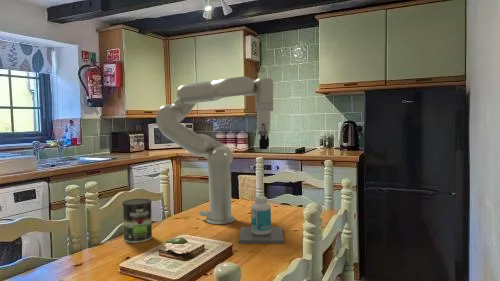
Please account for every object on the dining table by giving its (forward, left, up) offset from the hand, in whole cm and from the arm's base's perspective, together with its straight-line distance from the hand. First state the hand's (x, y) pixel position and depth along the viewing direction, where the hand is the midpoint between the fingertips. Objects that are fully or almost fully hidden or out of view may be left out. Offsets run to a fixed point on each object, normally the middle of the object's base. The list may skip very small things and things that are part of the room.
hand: (264, 148), depth 157 cm
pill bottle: (-1, -20, -31) cm, 37 cm away
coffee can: (-47, -23, -32) cm, 62 cm away
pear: (-30, -36, -32) cm, 57 cm away
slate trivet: (-1, -20, -32) cm, 38 cm away
